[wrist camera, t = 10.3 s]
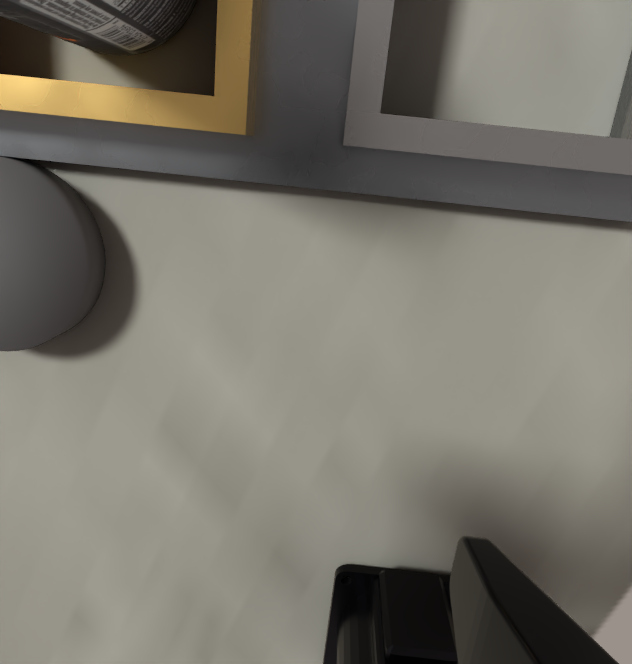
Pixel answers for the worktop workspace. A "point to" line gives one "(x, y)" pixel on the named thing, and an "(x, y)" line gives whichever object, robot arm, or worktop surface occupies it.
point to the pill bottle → (103, 21)
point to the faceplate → (317, 122)
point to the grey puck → (44, 256)
